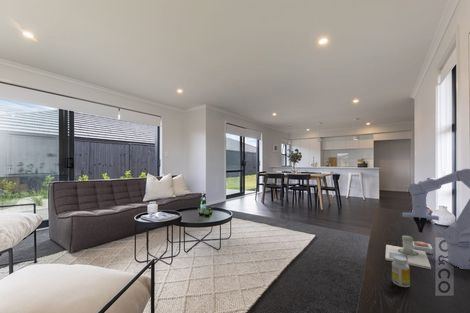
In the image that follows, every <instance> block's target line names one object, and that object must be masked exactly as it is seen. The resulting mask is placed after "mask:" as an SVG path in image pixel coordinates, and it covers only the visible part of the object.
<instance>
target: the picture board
mask: <svg viewBox="0 0 470 313" xmlns="http://www.w3.org/2000/svg"><path fill="white" fill-rule="evenodd" d="M394 256H401V257H404V258H406V259H407V265H408V266H412V267H413V266H414V267H417V268H422V269H427V270H432V267H431V264H430V260H429V258H428V256H427V253H426V252H425V251H420V250H414V249H413V254H410V253H405V252H403V246H402V247H401V246H395V245H390V244H386V245H385V259H384V260H385V261H389V262H394Z"/></svg>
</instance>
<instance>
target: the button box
mask: <svg viewBox="0 0 470 313" xmlns="http://www.w3.org/2000/svg"><path fill="white" fill-rule="evenodd" d="M415 242H416V241H415V240H413V249H414V250H420V251H425V252H426V254H431V255H434V249H433V247H432V244H430V243H427V247H422V246H417V245H416V243H415Z"/></svg>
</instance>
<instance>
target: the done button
mask: <svg viewBox="0 0 470 313" xmlns="http://www.w3.org/2000/svg"><path fill="white" fill-rule="evenodd" d="M414 242H415V243H416V245H417V246H422V247H427V244H428V243H427V242H424V241H417V240H416V241H414Z"/></svg>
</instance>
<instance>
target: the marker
mask: <svg viewBox="0 0 470 313" xmlns="http://www.w3.org/2000/svg"><path fill="white" fill-rule="evenodd" d="M401 237H402V238H401V239H402V247H403V252H405V253H410V254H413V241H414V237H413V236H410V235H402V236H401Z"/></svg>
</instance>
